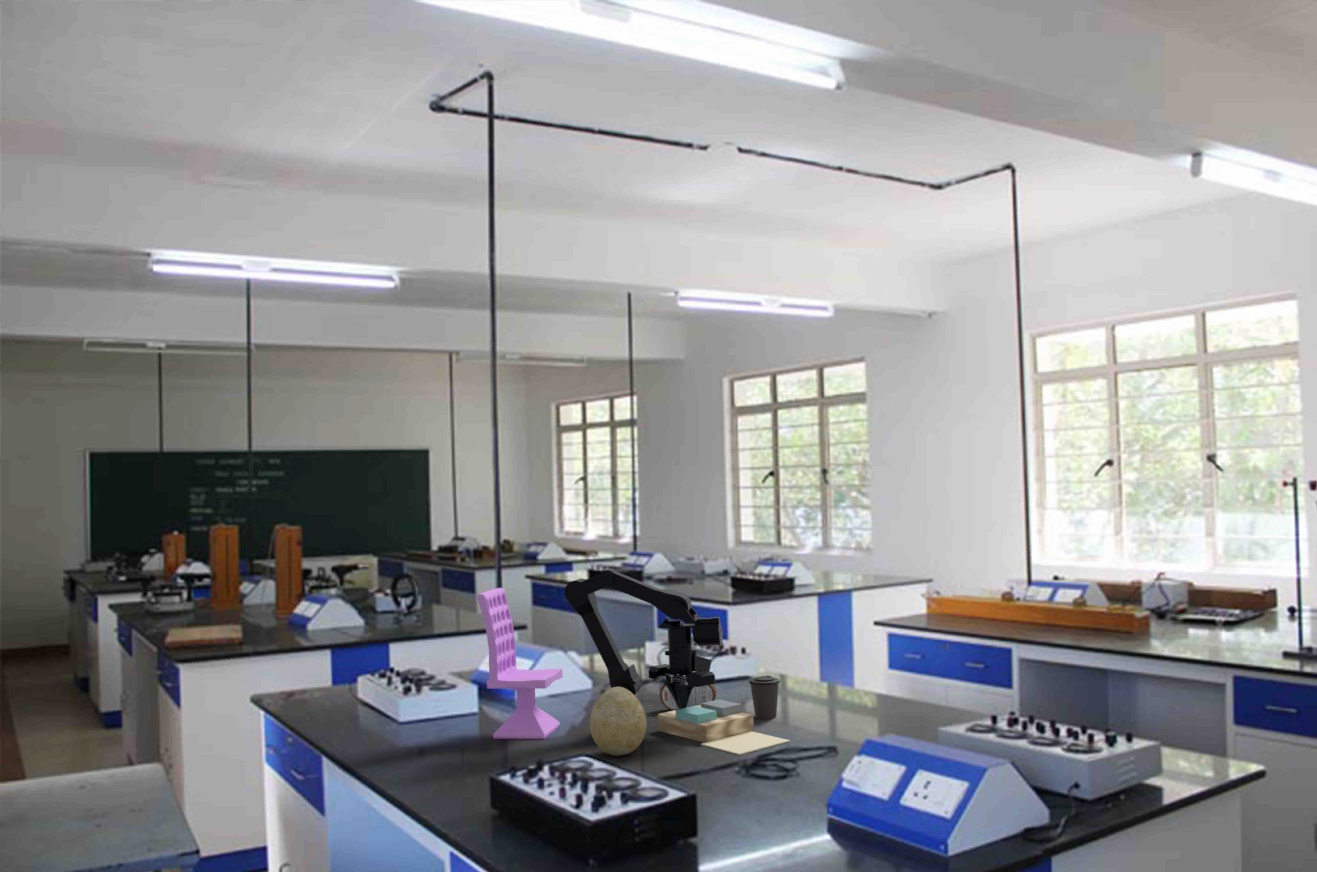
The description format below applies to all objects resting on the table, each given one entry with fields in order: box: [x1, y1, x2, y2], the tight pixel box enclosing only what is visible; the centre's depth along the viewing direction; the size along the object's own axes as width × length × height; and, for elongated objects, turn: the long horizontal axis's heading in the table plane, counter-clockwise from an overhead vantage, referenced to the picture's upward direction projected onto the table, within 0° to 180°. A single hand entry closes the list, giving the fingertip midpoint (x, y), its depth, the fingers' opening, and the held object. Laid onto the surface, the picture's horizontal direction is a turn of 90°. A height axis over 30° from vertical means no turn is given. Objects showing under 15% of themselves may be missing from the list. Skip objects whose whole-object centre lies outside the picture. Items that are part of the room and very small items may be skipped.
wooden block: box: [657, 705, 755, 743], centre depth 251 cm, size 15×18×4 cm
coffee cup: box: [748, 675, 781, 720], centre depth 264 cm, size 8×8×10 cm
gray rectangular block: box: [701, 699, 743, 717], centre depth 253 cm, size 6×8×2 cm
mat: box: [700, 731, 791, 756], centre depth 238 cm, size 16×13×1 cm
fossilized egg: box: [589, 687, 648, 757], centre depth 232 cm, size 13×13×15 cm
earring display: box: [476, 587, 563, 740], centre depth 257 cm, size 15×17×35 cm
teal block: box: [676, 706, 717, 724], centre depth 247 cm, size 6×8×2 cm
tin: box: [659, 680, 717, 711], centre depth 275 cm, size 15×3×8 cm, turn 84°
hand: (682, 710), depth 251 cm, fingers closed
